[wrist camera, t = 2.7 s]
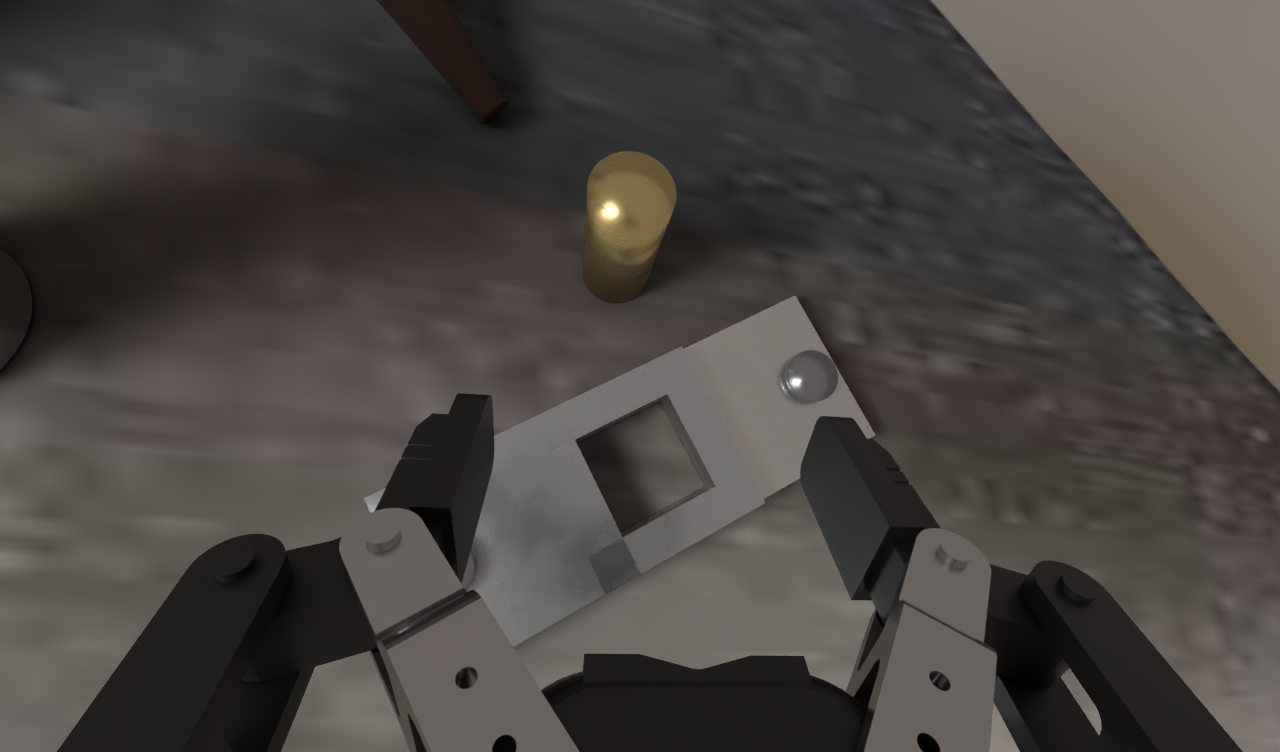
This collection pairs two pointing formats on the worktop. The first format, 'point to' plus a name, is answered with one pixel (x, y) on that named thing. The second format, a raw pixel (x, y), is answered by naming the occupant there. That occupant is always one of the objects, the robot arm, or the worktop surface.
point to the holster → (449, 52)
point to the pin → (625, 223)
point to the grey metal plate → (710, 433)
